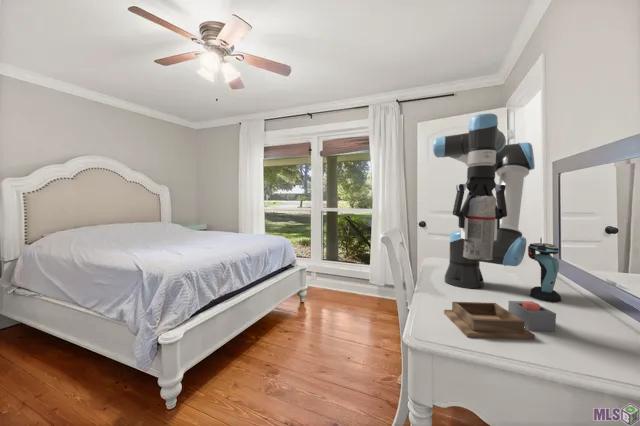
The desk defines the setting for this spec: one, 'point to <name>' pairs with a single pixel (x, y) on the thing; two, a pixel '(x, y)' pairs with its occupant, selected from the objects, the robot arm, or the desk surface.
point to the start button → (531, 305)
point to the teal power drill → (545, 271)
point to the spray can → (480, 228)
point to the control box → (533, 317)
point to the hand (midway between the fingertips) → (478, 239)
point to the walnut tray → (487, 321)
